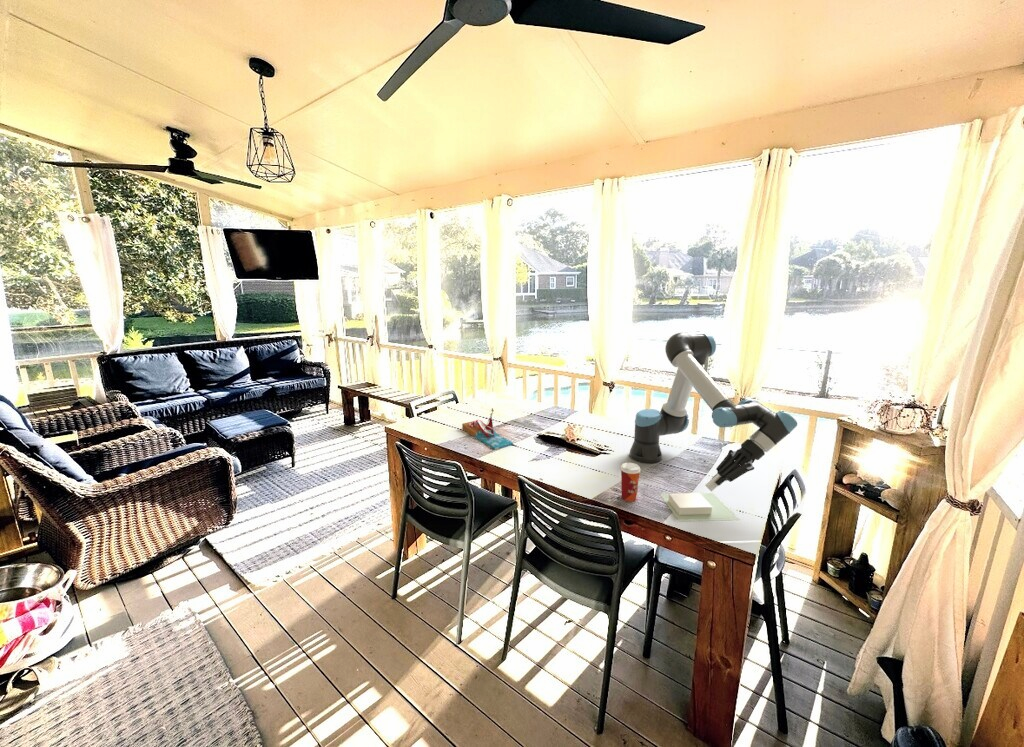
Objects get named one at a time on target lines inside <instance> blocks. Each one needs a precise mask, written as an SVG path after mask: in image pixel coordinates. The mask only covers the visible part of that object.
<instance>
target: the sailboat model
mask: <svg viewBox="0 0 1024 747" xmlns="http://www.w3.org/2000/svg"><path fill="white" fill-rule="evenodd" d="M494 411H495V409H494V408H493V407H492V408H491V413H490V416H489V419H488V421H487V423H484V422H483V420H480V419H476V420H473V421H468V422H464V423H462V424H461V426H462V427H461V429H463V430H462V431H464V432H465V431H466V432H465V433H467V434H469V435H470V436H472V437H473V436H474V438H475V439H476V438H477V440H478V441H479V442H481V443H483V444H484V443H485V444H484V445H486V446H487V445H488V446H487V447H489V448H491V449H492V450H494V451H496V450H499V449H503V448H508V447H511V446H513V445H514V443H513V442H512V440H509V439H508V438H505V437H504V436H502V435H500V434H498V433H496V430H494V425H493V424H494V423H493V418H492V416H493V415H494Z"/></svg>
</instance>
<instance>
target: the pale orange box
mask: <svg viewBox="0 0 1024 747" xmlns="http://www.w3.org/2000/svg"><path fill="white" fill-rule="evenodd" d="M700 493H701V492H692V493H691V492H690V493H688V492H686V493H682V492H681V493H678V492H677V493H668V494H669V497H668V501H669V502H670V504H671V505H672V506H673V508H674V509H675V510H676V512H677V513H678V514H679V515H702V514H711V512H712V506H711V505H710V504H709V503H708V502H707V501H706V500H705V499H704V498H703V497H702V496H701V495H700Z"/></svg>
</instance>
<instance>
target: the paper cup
mask: <svg viewBox="0 0 1024 747" xmlns="http://www.w3.org/2000/svg"><path fill="white" fill-rule="evenodd" d="M620 470H621V471H620V472H621V474H620V477H621V478H620V479H621V480H620V481H621V485H620V489H621V499H622V500H623V501H625V502H629V503H630V502H632V503H634V502H636V500H637V496H638V495H637V494H638V488H639V481H640V480H639V478H640V472H641V470H642V469H641V467H640V466H639V465H638V464H637V463H634V462H624V463H621V466H620Z"/></svg>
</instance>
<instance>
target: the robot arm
mask: <svg viewBox="0 0 1024 747" xmlns="http://www.w3.org/2000/svg"><path fill="white" fill-rule="evenodd" d="M716 349H717V344H716V340H715V338H714V337H713V335H712V334H711V333H710V332H707V331H688V332H678V333H675V334H673V335H672V336H670V337H669V338H668V339H667V341H666V343H665V355H666V357H667V359H668V361H669V363H670V364H671V365H672V366H673V367H674V368H677V371H676V373H675V376H674V379H673V382H672V385H671V389H670V392H669V394H668V398H667V402H665V403H663V404H662V405H661V406H662V407H661V409H660V410H658V409H653V408H651V409H649V408H646V409H642V410H639V411H637V412H636V415H635V420H634V438H633V439H634V440H633V442H632V444H631V448H630V450H629V457H630V458H631V459H632V460H634V461H635V462H640V463H644V464H654V463H659V462H661V461H662V460H663V459H662V458H663V454H662V451H661V446H660V437H661V436H667V435H673V434H675V435H676V434H679V433H682V432H684V431H685V430H686V429H687V428H688V426H689V423H690V419H689V415H688V411H687V409H686V406H687V404H688V401H689V399H690V395H691V393H692V390H693V389H694V390H695V391H696V392H697V394H698V395H699V396H700V397H701V398H702V400H703V401H704V402H705V403H706V405H707V406H708V407H709V409H710V410H711V411H712V412H711V418H712V422H713V424H715V426H716V427H719V428H732V427H735V426H741V425H742V426H743V425H748V424H753V425H755V426H756V427H757V428H758V429H757V430H755V431H754V432H753V434H751V435H750V436H749V438H747V439H746V440H744V441H743V442H742V443H741V444H740V448H739V449H737V450H735V451H734V450H732V449H730V450H729V451H728V453H727V455H725V457H724V458H723V460H722V461H721V462H720V463H719V464H718V466H717V467H716V469H715V470H716V472H717V473H716V474H715V475H714V476H712V478H710V480H709V481H708V482H707V483H705V485H704V486H705V487H706V488H707V489H708V490H709V491H710V492H713V491H714V490H715V489H716V488H718V487H719V486H721V485H722V484H723V483H724V482H726V481H727V482H730V483H731V482H733V481H735V480H736V479H738V478H740V477H741V476H743V475H744V474H746V473H748V472H751V471H753V470H754V469H755V467H754V465H753V463H755V461H759V460H760V459H761V458H763V456H765V454H766V453H768V452H769V451H770V450H772V449H773V448H774V447H775V446H777V445H778V444H779V443H780V442H781V441H782V440H783V439H784V438H786V437H787V436H788V435H789V434H791V433H792V432H793V430H795V428H797V426H798V421H797V420H796V419H795V418H794V417H793V416H792V415H790V413H789V412H786V411H784V410H778V412H777V411H776V412H775V411H773V410H772V409H769V408H767V407H766V406H765V405H763V404H762V403H761V402H759V401H757V400H756V399H753V398H752V397H745V398H743V399H741V400H740V401H739V402H738V404H735V403H733V401H732V400H731V399H730V398H729V397H728V396H727V394H726V393H725V392H724V391H723V390H722V389H721V388H720V386H719V384H717V382H715V380H714V379H713V378H712V377H711V375H710V374H708V372H707V371H706V370H705V369H704V367H702V366H704V365H705V363H706V361H707V358H710V357H711V356H713V355H714V354H715V352H716Z"/></svg>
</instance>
